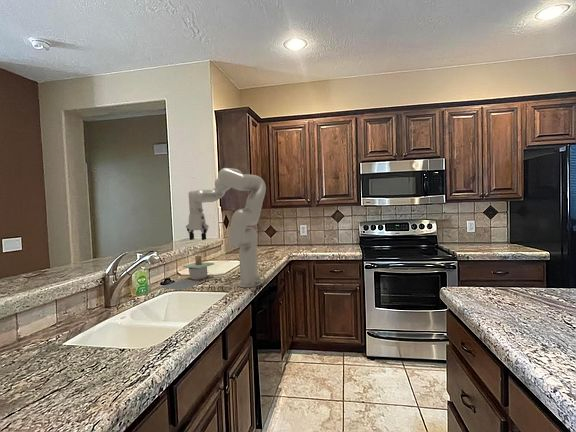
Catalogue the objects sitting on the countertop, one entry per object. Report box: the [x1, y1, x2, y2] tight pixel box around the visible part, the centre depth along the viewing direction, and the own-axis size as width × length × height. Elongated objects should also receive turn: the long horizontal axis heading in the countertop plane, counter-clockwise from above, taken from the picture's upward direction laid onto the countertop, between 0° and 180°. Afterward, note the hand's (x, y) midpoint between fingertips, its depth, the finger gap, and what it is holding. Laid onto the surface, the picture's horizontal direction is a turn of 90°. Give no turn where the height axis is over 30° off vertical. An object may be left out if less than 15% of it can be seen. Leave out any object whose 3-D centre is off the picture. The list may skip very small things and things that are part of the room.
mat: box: [157, 279, 204, 291], centre depth 186 cm, size 17×17×1 cm
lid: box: [182, 255, 215, 269], centre depth 201 cm, size 13×13×6 cm
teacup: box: [188, 266, 208, 281], centre depth 201 cm, size 14×11×8 cm
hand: (197, 239), depth 200 cm, fingers open, 9 cm apart
